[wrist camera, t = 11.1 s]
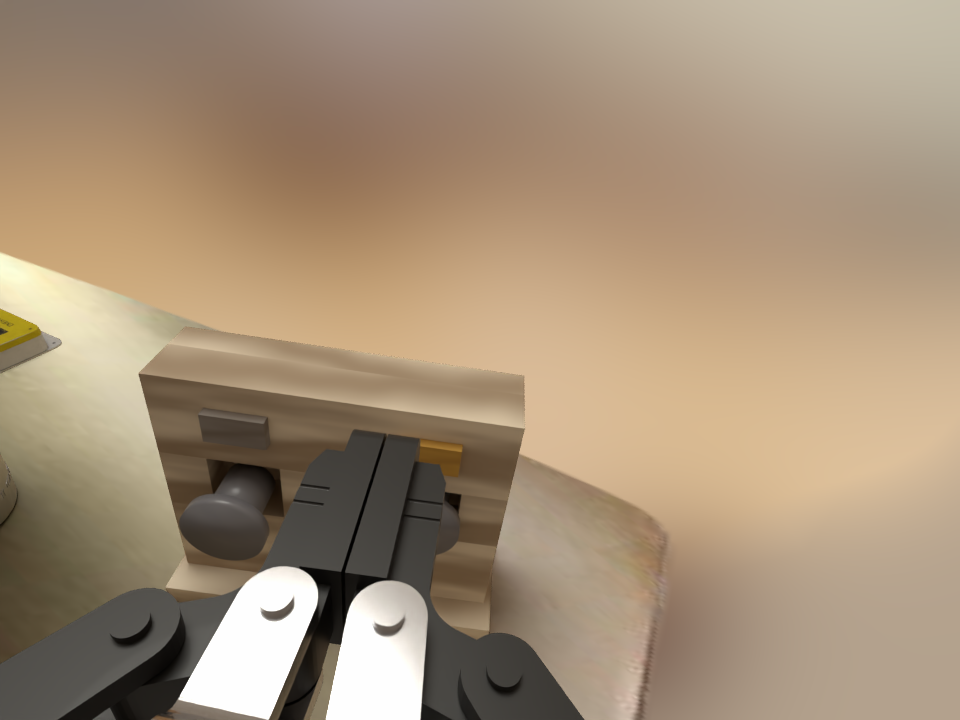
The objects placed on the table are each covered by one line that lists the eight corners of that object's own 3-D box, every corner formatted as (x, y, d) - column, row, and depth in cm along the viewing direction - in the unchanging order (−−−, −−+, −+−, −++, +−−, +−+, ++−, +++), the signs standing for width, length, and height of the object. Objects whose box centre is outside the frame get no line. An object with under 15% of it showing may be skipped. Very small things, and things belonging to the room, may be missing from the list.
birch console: (486, 642, 39) (534, 455, 29) (169, 600, 38) (105, 394, 28) (491, 546, 45) (531, 367, 35) (221, 509, 45) (185, 317, 35)
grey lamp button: (267, 565, 33) (260, 511, 30) (186, 554, 33) (172, 499, 30) (291, 510, 36) (287, 457, 34) (218, 500, 36) (208, 446, 34)
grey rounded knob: (454, 560, 35) (463, 509, 32) (378, 550, 35) (381, 498, 32) (460, 509, 38) (469, 459, 36) (391, 499, 38) (395, 448, 36)
